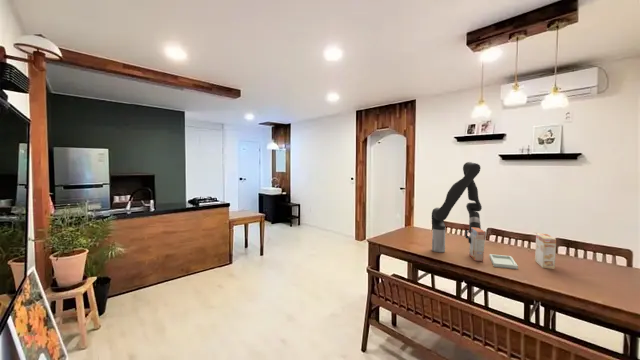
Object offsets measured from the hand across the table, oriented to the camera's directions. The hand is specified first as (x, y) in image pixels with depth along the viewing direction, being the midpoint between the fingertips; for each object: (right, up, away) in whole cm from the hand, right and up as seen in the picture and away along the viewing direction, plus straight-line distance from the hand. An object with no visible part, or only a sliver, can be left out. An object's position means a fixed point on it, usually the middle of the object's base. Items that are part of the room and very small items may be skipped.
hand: (475, 243), depth 215 cm
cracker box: (-1, -10, -2) cm, 10 cm away
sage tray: (+12, -11, -11) cm, 20 cm away
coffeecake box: (+38, -11, -15) cm, 42 cm away
